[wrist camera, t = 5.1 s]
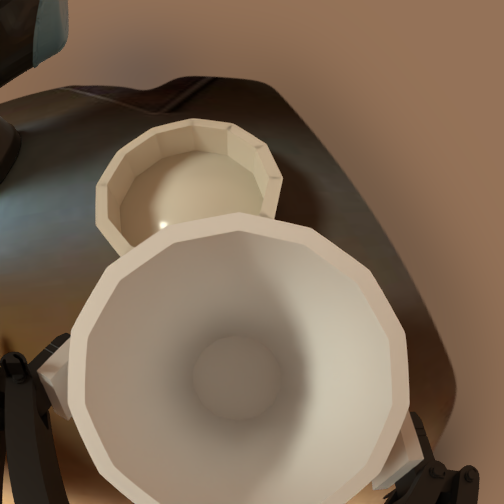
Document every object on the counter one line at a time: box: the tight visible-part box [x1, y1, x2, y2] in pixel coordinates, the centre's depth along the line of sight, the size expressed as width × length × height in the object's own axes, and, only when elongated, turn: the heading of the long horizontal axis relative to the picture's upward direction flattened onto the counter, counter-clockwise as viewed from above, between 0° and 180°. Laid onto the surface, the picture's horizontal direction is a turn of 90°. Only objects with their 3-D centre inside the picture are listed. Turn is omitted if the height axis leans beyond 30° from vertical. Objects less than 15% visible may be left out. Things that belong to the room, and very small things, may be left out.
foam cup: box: [68, 212, 410, 504], centre depth 12 cm, size 10×9×13 cm
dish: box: [96, 118, 283, 257], centre depth 21 cm, size 14×14×4 cm
